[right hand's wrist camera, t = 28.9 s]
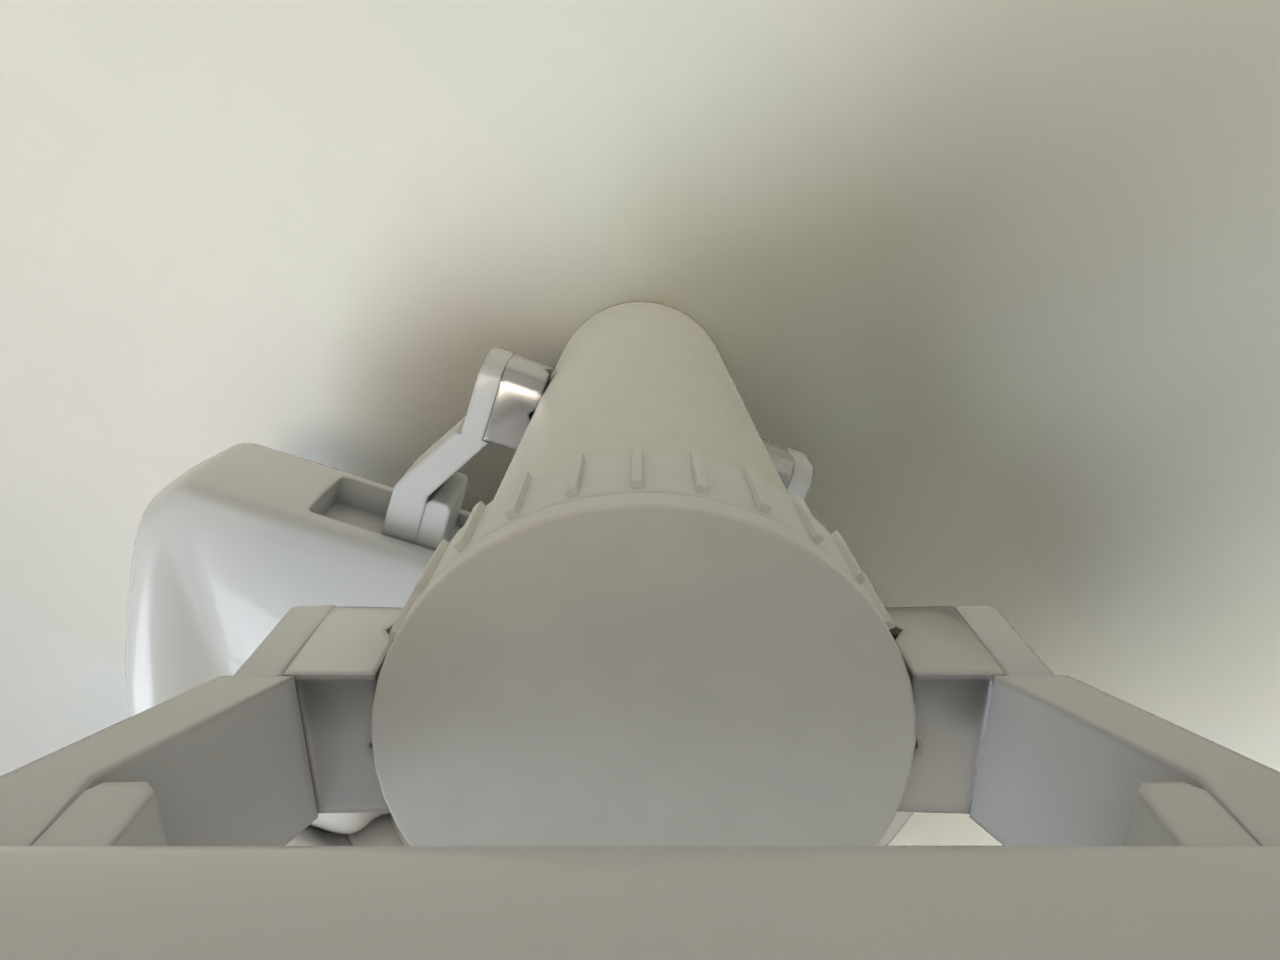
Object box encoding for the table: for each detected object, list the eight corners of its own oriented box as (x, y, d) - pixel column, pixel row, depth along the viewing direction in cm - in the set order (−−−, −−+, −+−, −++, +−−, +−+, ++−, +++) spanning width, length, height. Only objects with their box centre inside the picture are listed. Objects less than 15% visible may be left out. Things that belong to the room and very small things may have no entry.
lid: (721, 343, 8) (739, 377, 7) (959, 723, 10) (1017, 819, 9) (308, 609, 10) (244, 690, 8) (584, 912, 11) (575, 1028, 10)
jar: (610, 267, 23) (560, 408, 8) (758, 359, 23) (952, 635, 9) (525, 414, 24) (352, 759, 9) (667, 495, 25) (707, 923, 10)
